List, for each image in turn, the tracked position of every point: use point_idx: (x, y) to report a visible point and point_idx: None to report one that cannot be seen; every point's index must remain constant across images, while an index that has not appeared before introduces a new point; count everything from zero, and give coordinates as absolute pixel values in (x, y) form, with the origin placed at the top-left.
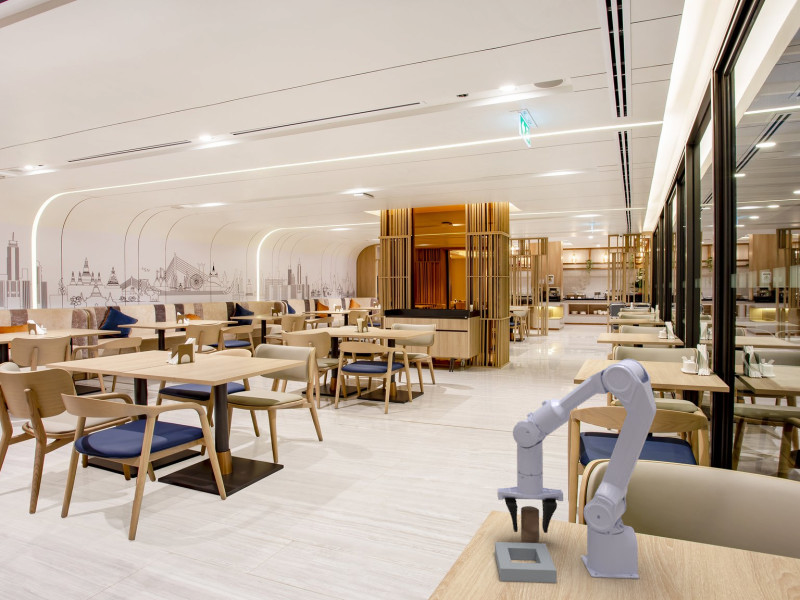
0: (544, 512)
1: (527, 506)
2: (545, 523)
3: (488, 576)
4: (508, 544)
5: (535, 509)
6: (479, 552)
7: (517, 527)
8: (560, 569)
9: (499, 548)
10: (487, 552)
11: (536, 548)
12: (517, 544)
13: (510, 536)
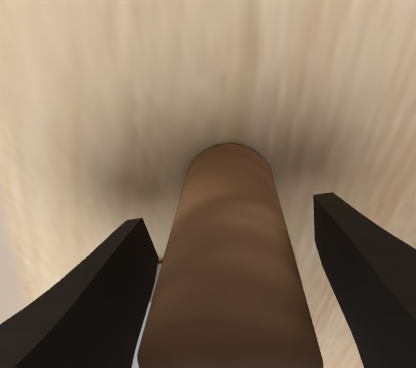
0: (375, 349)
1: (197, 321)
2: (341, 305)
3: None
4: None
5: (286, 363)
6: (48, 265)
7: (153, 287)
8: (329, 308)
9: None
10: (73, 261)
11: None
12: None
13: (121, 113)
